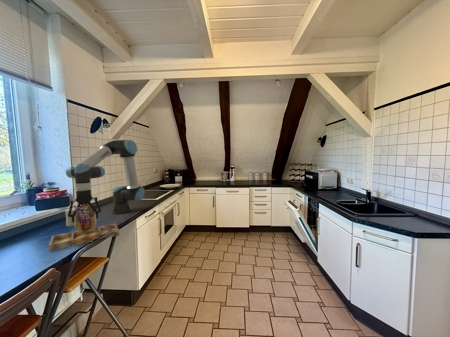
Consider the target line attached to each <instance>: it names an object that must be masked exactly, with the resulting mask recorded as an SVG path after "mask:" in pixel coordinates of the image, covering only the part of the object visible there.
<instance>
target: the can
mask: <svg viewBox="0 0 450 337" xmlns="http://www.w3.org/2000/svg"><path fill="white" fill-rule="evenodd" d="M69 209H70V208H67V209H65V210H64V211H65V219H66V220H65V225H66V227H75V222H73V223H72V217H68V213H69ZM74 211H75V207H72V211H71V214H73V212H74ZM75 216H76V214H75Z"/></svg>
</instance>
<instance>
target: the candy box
mask: <svg viewBox="0 0 450 337" xmlns="http://www.w3.org/2000/svg"><path fill="white" fill-rule="evenodd" d="M91 204H92V205H93V207H94V208H95V206H94V204H93V203H91ZM74 208H75V209H76V226H77V228H76V231H78V232H82V231H86V230H89V229H93V228H96V224H95V218H94V213H95V212H94V210H93V209H92V208H91V207H90V205H89V204H88V205H80V207H77V205H76V206H74Z"/></svg>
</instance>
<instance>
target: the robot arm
mask: <svg viewBox="0 0 450 337" xmlns="http://www.w3.org/2000/svg"><path fill="white" fill-rule="evenodd" d="M137 152H138V146H137V144H136V142H135V141H134V140H132V139H115V140H111V141H109V142H106V143H104V144H103V145H102V146H100V147H99V149H98V150H97V151H95V152H93V153H92V154H91V155H89V156H88V157H87V158H85V159H84V160H82V161H81V162H79V163H78V164H75V165H74V166H69V167H67V168H66V170H65V175H66V177H68V178H70V179H74V181H75V182H74V183H75V184H74V185H75V190H76V191H75V197H76V198H75V199H70V200H69V208H68V209H69V213H68V217H72V223H73V222H75V226H74V229H77V225H76V216H75V214H76V209H75V211H74V212H73V214H71V211H72V208H74V204H75V202H77V204H76V206H77V207H80V206H81V205H88V204H89V205H90V207H91V208H92V209H93V210H94V218H95V225H97V219H98V218H99V214H100V213H101V212H102V209H101V207H100V204H99V202H98V197H97V196H95V197H93V196H92V184H91V183H92V182H91V180H92V179H97V178H99V179H100V178H103V177H104V175H105V174H106V170H105V168H104V167H102V166H98V164H100V163H102V161H103V160H105V159H107V158H109V157H111V156H113V155H119V158H120V159H122V163H123V169H124V172H125V173H124V174H125V177H126V178H125V179H126V183H127V185H121V186H120V185H119V186H116V187H115V186H114V188H113V189H112V195H113V196H112V198H113V199H112V201H113V205H112V209H111V214H112V215H122V214H126V213H129V212H131V205H130V203H129V201H130V202H131V201H134V202H137V201H142V200H143V198H144V196H145V192H146V190H145V188H144V187H142V185H141V183H139V180H138V179H139V178H138V172H137V168H136V167H137V166H136V163H135V157H136V154H137ZM91 201H94V202H95V205H96V207H97V209H96V207H95V206H94V204H93V203H92V202H91ZM92 204H93V205H92ZM93 206H94V207H93Z"/></svg>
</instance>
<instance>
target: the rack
mask: <svg viewBox="0 0 450 337" xmlns="http://www.w3.org/2000/svg"><path fill="white" fill-rule="evenodd" d="M111 230H115V231H112V233H113V234H112V235H111V236H109V237H108V238H107V239H109V238H112V237H119V236H120V229H119V228H118V225H117V224H116V223H111V224H108V225H107V224H106V225H102V226H97V227H96V226H95V228H93V229H89V230H86V231H82V232H78V231H77V230H76V231H71V232H66V233H59V234H56V235H52V236H51V237H50V240H49V243H48V251H49V252H51V251H56V249H57V250H61V249H65V248H64V247H66V248H69V247H68V246H70V247H73V246H72V245H74V246H78V245H77V244H79V245H81V244H82V245H84V244H86V243H91V242H94V241H93V240H95V239H97V238H99V237H100V236H102V235H104V234H106V233H108V232H109V231H111ZM60 248H61V249H60Z"/></svg>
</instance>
